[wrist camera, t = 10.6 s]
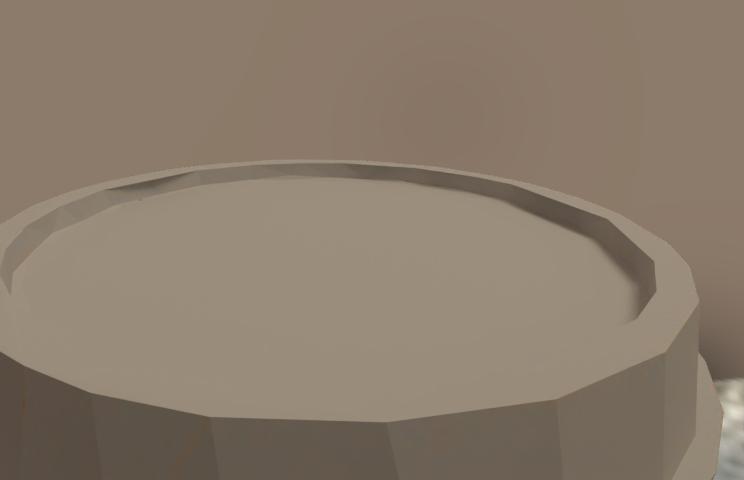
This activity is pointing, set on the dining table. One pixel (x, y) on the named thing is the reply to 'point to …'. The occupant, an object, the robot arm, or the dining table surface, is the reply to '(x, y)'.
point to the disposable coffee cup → (346, 332)
